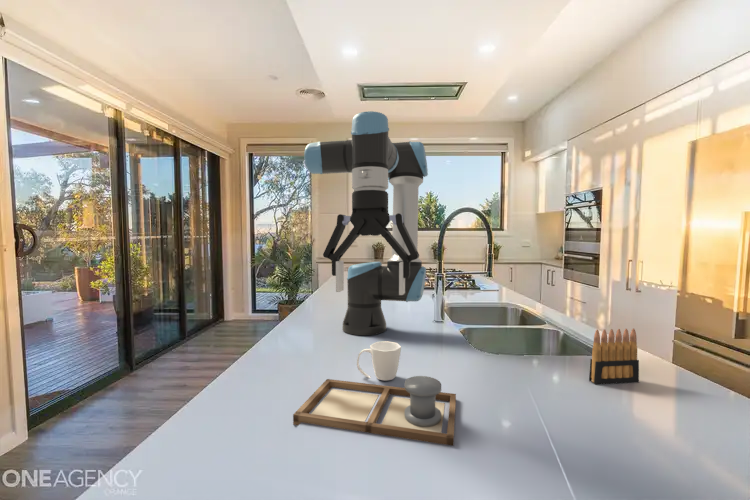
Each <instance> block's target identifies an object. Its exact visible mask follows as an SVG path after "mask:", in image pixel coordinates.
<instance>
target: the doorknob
mask: <svg viewBox="0 0 750 500" xmlns="http://www.w3.org/2000/svg"><path fill="white" fill-rule="evenodd" d="M404 388H405V390H406V391H407V392H408V393H410V397H409V399H410V406H408V407H407V408H406V409H405V419H406V420H407V421H408V422H409V423H410V424H412V425H415V426H419V427H431V426H435V425H437V424H438V423H439V422H440V421H441V412H440V410H439V409H438V408H436V407H435V402H436V400H435V395H437V394H439V393H440V392H442V382H441V381H439V379H436V378H434V377H431V376H426V375H414V376H410V377H408V378H406V379H405V381H404Z"/></svg>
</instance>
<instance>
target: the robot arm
mask: <svg viewBox="0 0 750 500" xmlns="http://www.w3.org/2000/svg"><path fill="white" fill-rule="evenodd" d="M389 131H390V128H389V119H388V117H387V115H386V114H385V113H382V112H379V111H373V110H371V111H362V112H359V113H357V114H355V115H354V116H353V118H352V120H351V131H350V134H351V139H347V140H333V141H332V140H331V141H316V142H310V143H308V144H307V145H306V147H305V149H304V152H303V153H304V155H303V156H304V157H303V158H304V164H305V167H306V170H307V171H308V172H309V173H311V174H313V175H317V174H318V175H323V174H324V175H326V174H327V175H328V174H351V186H352V187H351V188H352V189H353V190H354V191H352V193H351V211H352V212H351V214H350V215H346V214H337V218H336V224H335V227H334V230H333V232H332V234H331V236H330V238H329V240H328V242H327V245H326V247H325V249H324V251H323V254H322V256H323V257H324V258H326V259H329V260H330V261H331V275H332V277H333V276H334V277H335V292H336V293H341V292H342V291H344V289H345V286H344V285H345V282H344V279H345V278H344V277H345V275H344V269H345V267H344V266H345V265H344V262H345V261H344V260H341V259H342V257H343V256H344V255H345V253H346V252H347V251H348V250H349V248H350V247H351V246H352V245H353V243H354V242H355V241H356V240H357V238H359V236H361V237H362V236H363V237H364V236H365V237H366V236H373V237H375V236H376V237H378V236H380V235H381V237H383V238H384V239H385V240H386V242H387V243H388V245H390V247H391V257H390V258H389V259H387V263H386V264H387V265H382V264H383V263H382V262H381V261H373V262H372V261H371V262H363V263H357V264H353V265H350V266H348V269H347V278H346V280H347V309H346V312H345V315H344V318H343V322H342V331H343V332H344V333H346V334H350V335H355V336H373V335H379V334H382V333H384V332H386V331H387V322H386V317H385V315H384V311H383V309H382V301H389V302H390V301H391V302H406V303H408V302H419V301H420V300H421V299H422V297H423V295H424V294H423V293H424V291H425V290H424V289H425V285H426V278H427V277H426V276H427V268H426V266H423V262H422V260H421V259H420V254H419V252H418V246H419V245H418V243H419V242H418V236H419V234H418V233H419V232H418V230H419V229H418V228H419V188H420V186H421V185H422V184H423V182H424V178H426V177H428V175H429V174H428V172H429V171H428V170H429V169H428V162H427V155H426V149H425V144H423V142H422V141H405V142H403V141H402V142H401V141H400V142H392V141H391V138H390V137H389ZM389 184H390V185H391V186H392V188H393V189H392V191H393V192H392V193H393V198H392V214H391V215H390V214H389V193H388V191H387V190H388V189H389ZM390 222H392V230H391V231H392V233H391V232H390V230H389V229H388V228H387V226H389V224H390ZM349 223H351V224H352V226H353V228H352V229H351V230H350V231H349V234H348V235H347V236H346V237H345V239H344V240H343V241H342V242H341V243H340V245H339V242H340V241H341V238H342V236H343V233H344V230H346V226H348V225H349ZM338 245H339V246H338ZM337 246H338V248H337Z"/></svg>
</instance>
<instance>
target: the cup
mask: <svg viewBox="0 0 750 500" xmlns="http://www.w3.org/2000/svg"><path fill="white" fill-rule="evenodd" d="M369 347H370V348H364V349H362V350H361V351H360V352H359V353H358V356H357V359H356V366H357V370H358V372H360V373H361V374H362V375H363V376H364V377H366V378H367V379H371V376H370V375H369V374H368V373H366V372H365V371H364V370H363V369H362V368H361V367H360V364H359V362H360V361H359V360H360V356H361V355H362V354H363V353H370V354H371V361H372V368H373V371H374V376H375V377H376V378H377V379H378V380H381V381H385V382H387V381H392V380H394V379H395V378H396V377H397V373H398V370H399V366H400V365H399V364H400V359H401V358H400V357H401V350H402V346H401V345H400V344H399V343H398V342H394V341H388V340H386V341H385V340H384V341H376V342H374V343H372V344H370V345H369Z"/></svg>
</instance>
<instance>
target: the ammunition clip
mask: <svg viewBox="0 0 750 500" xmlns="http://www.w3.org/2000/svg"><path fill="white" fill-rule="evenodd" d="M637 338H638V337H637V333H636V329H635V328H632V329H631V332H630V334H629V330H628V328H625V329H624V330H623V333H622V331H621V329H620V328H618V329H617V330H616V333H615V332H614V329H612V328H611V329H610V330H609V333H607V330H606V329H603V330H602V333H601V335H600V331H599V330H598V329H596V330H595V333H594V336H593V345H592V351H591V352H592V353H591V358H590V362H589V363H590V364H589V374H588V375H589V376H588V377H589V378H588V381H589V382H591V383H592V384H593V385H597V386H598V385H616V384H617V385H618V384H634V383H636V384H637V383H640V361H639V359H638V342H637Z"/></svg>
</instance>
